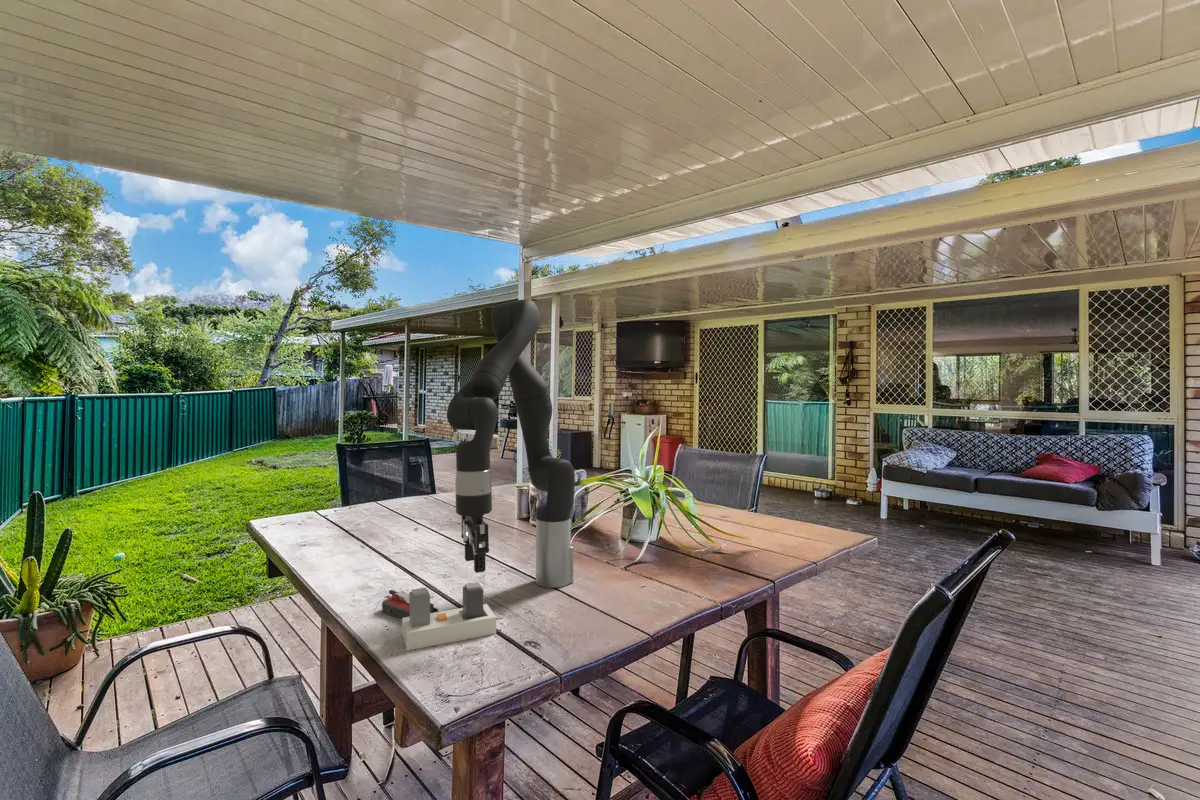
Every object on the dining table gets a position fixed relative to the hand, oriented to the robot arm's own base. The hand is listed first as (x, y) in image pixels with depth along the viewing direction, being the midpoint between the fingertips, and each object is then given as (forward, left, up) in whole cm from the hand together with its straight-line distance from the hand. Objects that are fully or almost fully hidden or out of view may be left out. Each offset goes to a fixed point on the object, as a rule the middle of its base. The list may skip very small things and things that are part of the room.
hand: (474, 565), depth 119 cm
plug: (0, 0, -13) cm, 13 cm away
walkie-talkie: (+13, -18, -15) cm, 27 cm away
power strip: (+5, 0, -14) cm, 15 cm away
